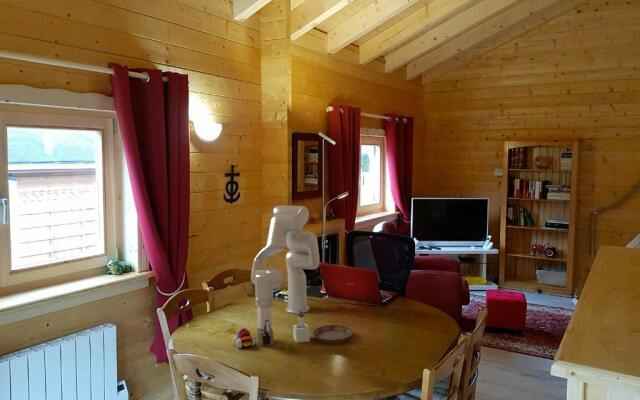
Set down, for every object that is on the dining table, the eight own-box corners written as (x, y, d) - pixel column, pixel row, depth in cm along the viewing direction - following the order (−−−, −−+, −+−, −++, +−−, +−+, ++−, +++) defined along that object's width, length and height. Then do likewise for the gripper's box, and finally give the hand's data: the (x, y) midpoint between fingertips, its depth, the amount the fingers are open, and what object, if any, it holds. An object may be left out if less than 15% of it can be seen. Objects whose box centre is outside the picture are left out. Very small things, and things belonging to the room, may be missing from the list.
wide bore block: (293, 337, 236) (293, 324, 235) (306, 336, 237) (306, 323, 237) (296, 342, 230) (296, 329, 229) (309, 341, 232) (309, 327, 231)
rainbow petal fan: (238, 350, 222) (238, 334, 221) (231, 343, 231) (230, 327, 230) (257, 347, 226) (257, 330, 225) (249, 339, 235) (249, 323, 234)
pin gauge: (297, 338, 235) (296, 311, 233) (303, 337, 236) (303, 310, 234) (298, 341, 232) (298, 313, 230) (305, 340, 233) (305, 313, 231)
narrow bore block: (257, 341, 232) (257, 328, 232) (270, 339, 234) (270, 326, 233) (259, 346, 227) (259, 332, 226) (273, 344, 228) (273, 331, 227)
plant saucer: (323, 348, 224) (323, 341, 224) (307, 334, 240) (307, 328, 240) (359, 341, 231) (359, 334, 231) (341, 328, 247) (341, 322, 247)
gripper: (252, 296, 235) (253, 335, 237) (259, 308, 219) (260, 349, 221) (269, 295, 237) (270, 333, 239) (276, 306, 221) (277, 347, 223)
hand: (265, 341), depth 230 cm, fingers closed on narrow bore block, 6 cm apart
